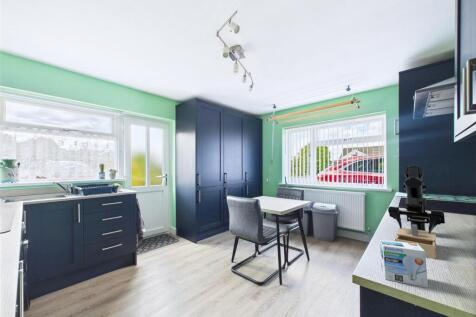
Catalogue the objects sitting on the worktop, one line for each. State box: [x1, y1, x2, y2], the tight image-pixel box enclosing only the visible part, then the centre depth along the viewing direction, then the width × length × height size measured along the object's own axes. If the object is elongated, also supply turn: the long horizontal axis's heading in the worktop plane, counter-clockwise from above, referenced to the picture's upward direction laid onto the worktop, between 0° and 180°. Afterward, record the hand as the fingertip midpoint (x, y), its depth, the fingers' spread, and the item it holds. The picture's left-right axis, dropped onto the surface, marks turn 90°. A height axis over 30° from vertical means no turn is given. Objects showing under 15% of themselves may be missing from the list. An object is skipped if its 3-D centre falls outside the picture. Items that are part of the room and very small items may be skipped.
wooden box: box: [394, 234, 437, 260], centre depth 83 cm, size 12×12×5 cm
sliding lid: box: [396, 224, 437, 241], centre depth 88 cm, size 12×12×5 cm
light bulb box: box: [379, 239, 429, 289], centre depth 63 cm, size 11×7×11 cm, turn 62°
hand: (414, 230), depth 84 cm, fingers open, 9 cm apart
